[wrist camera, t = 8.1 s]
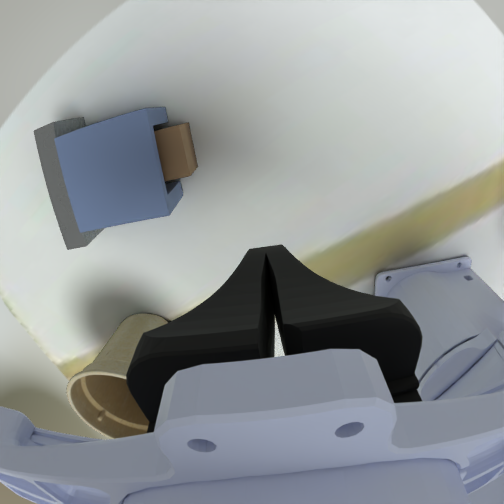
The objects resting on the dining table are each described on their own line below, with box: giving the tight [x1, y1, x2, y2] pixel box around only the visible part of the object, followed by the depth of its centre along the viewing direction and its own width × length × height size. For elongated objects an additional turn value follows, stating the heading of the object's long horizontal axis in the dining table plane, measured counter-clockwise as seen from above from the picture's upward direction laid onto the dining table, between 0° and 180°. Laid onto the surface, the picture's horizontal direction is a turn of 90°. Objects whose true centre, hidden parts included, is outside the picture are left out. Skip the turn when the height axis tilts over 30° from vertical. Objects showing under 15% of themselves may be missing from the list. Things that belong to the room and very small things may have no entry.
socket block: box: [54, 107, 183, 233], centre depth 18 cm, size 6×6×4 cm
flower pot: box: [66, 313, 168, 439], centre depth 22 cm, size 9×9×9 cm
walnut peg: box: [154, 122, 198, 181], centre depth 18 cm, size 6×3×3 cm, turn 100°
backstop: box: [34, 117, 104, 250], centre depth 18 cm, size 2×8×4 cm, turn 9°
